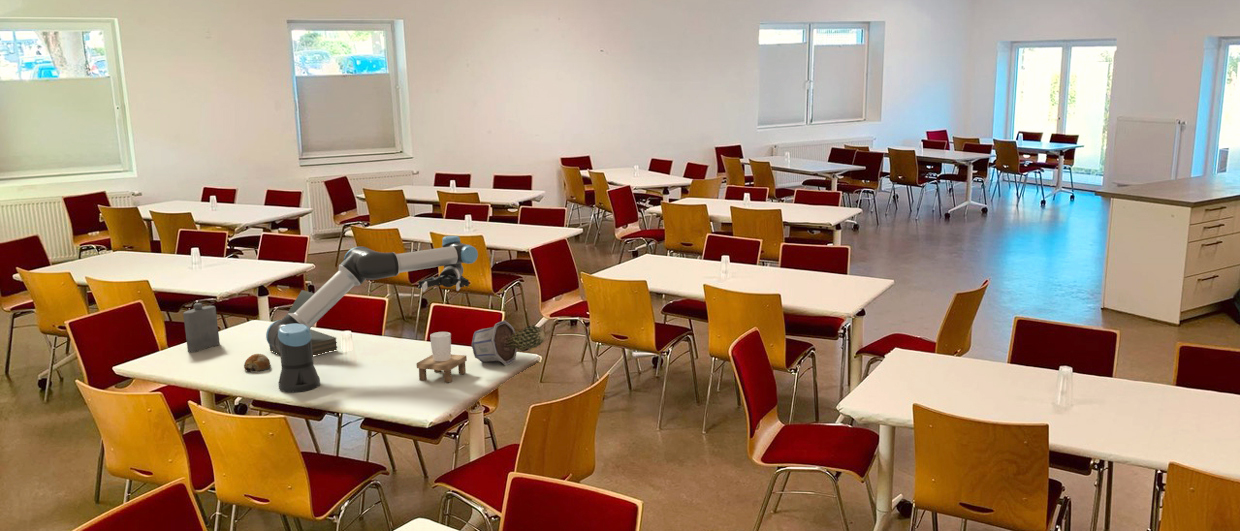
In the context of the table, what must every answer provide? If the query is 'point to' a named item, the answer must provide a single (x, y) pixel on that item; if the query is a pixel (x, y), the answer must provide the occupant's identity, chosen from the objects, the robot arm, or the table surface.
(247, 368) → the bread roll
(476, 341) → the potted plant
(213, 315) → the flask
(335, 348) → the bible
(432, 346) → the white cup
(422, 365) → the stool
